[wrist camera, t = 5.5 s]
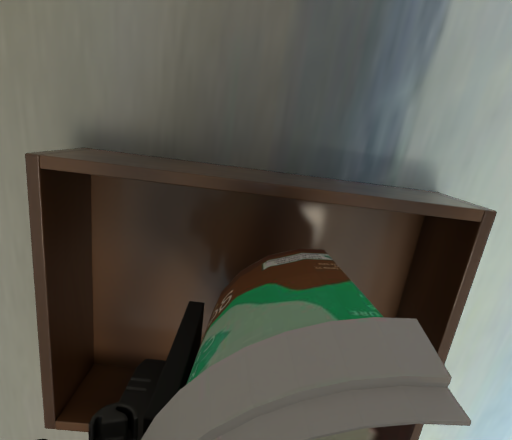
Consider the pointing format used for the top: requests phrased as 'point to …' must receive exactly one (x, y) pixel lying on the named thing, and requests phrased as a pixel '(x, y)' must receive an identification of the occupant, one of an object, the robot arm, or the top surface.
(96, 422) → the robot arm
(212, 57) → the top surface
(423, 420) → the food container
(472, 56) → the top surface
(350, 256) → the wooden tray
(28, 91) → the top surface
